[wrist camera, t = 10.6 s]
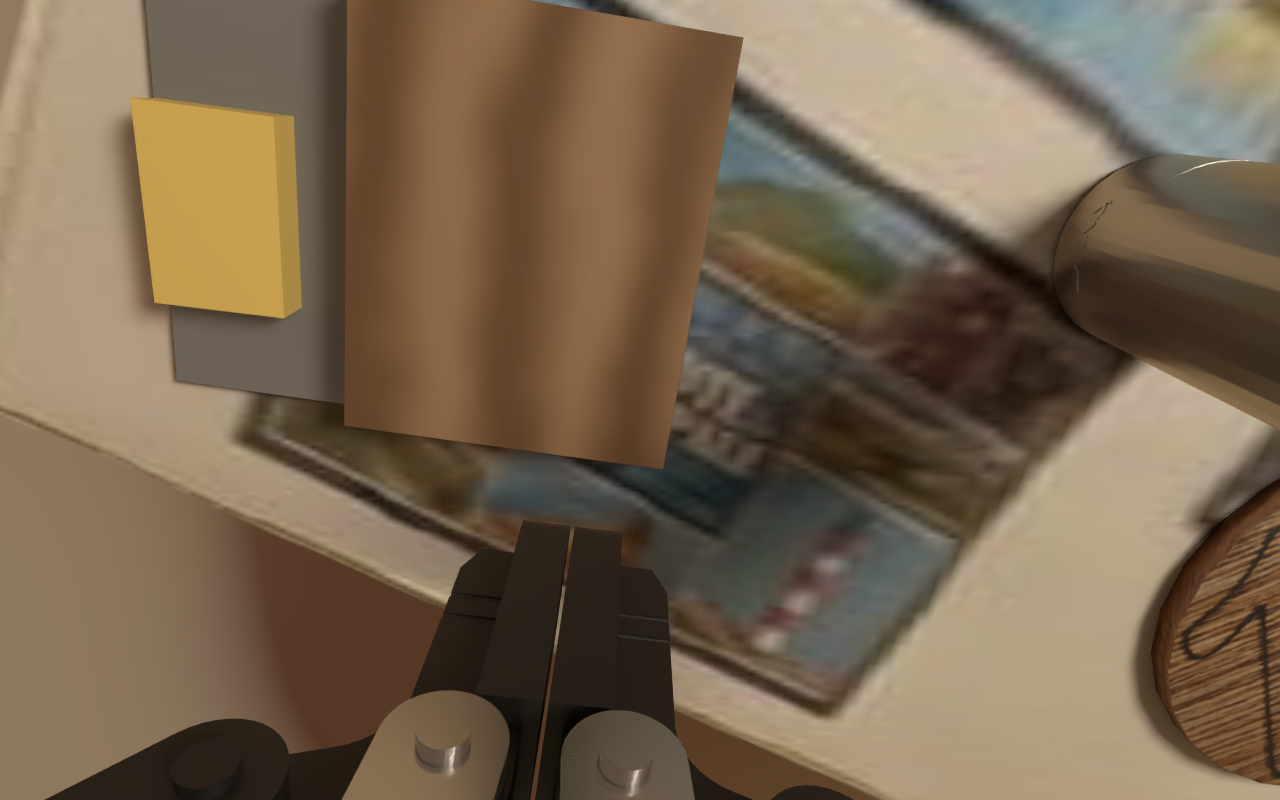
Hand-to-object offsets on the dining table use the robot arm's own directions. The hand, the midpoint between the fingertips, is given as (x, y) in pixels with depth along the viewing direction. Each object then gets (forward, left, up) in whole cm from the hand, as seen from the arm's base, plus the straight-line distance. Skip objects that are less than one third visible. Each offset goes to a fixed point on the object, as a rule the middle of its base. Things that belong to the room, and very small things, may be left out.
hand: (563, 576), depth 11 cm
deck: (+4, 0, -27) cm, 27 cm away
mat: (+17, 0, -27) cm, 32 cm away
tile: (+18, +1, -24) cm, 31 cm away
